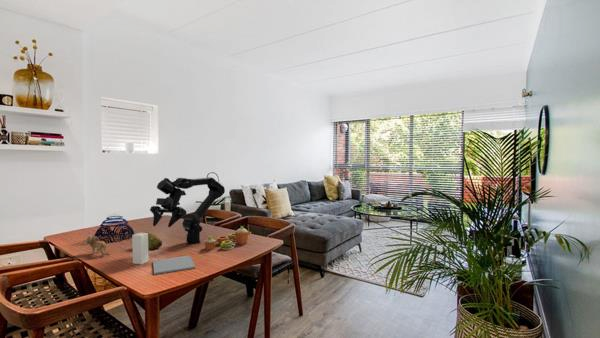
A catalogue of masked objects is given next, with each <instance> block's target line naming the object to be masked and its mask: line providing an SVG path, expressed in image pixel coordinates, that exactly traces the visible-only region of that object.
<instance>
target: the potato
mask: <svg viewBox="0 0 600 338" xmlns="http://www.w3.org/2000/svg"><path fill="white" fill-rule="evenodd" d="M142 233H148V250H149V249H150V250H153V249H159V248H161V246H162V245H163V241H162V239H161V238H160V237H158V236H157V235H155V234H153V233H151V232H150V231H144V232H142Z"/></svg>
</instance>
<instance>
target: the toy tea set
mask: <svg viewBox="0 0 600 338" xmlns="http://www.w3.org/2000/svg"><path fill="white" fill-rule="evenodd" d="M251 234H252V232H251V231H249V230H247V229H246V228H244V226H240V228H238V229H236V230H235V232H234V233H233V232H232V233H228V234H227V236H226V235H222V236H218V237H217V239H214V238H213V237H212V236H208V238H207V239H205V240H204V241H203V243H204V249H205V250H206V251H212V250H214V249H215V248H216V243H217V244H218V246H220V249H221V250H224V251H228V250H229V251H230V250H232V249H234V248H235V246H236V244H237V245H246V244H247V243H248V240H249V235H251ZM233 242H236V244H235V243H233Z"/></svg>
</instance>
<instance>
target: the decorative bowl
mask: <svg viewBox="0 0 600 338" xmlns="http://www.w3.org/2000/svg"><path fill="white" fill-rule="evenodd" d="M123 217H124V216H122V215H120V212H114V213H109V214H108V216H107V217H106V218H105V220H103V221H102V222H101V224H100V225H99V226H100V227H98V229H97V230H96V231H95V234H94V236H96V237H97V238H98V237H99V240H100V241H104V242H105V243H107V244H109V242H110V243H118V242H117V241H119V242H123V240H124V241H125V240H126V239H128V240H130V239H129V238H131V237H132V235H134V234H135V231H134V229H133V227H131V226H130V225H129V221H127V219H126V218H123ZM110 224H111V225H110ZM112 228H113V229H112ZM117 233H118V234H117ZM120 233H121V234H120ZM122 233H123V234H122ZM125 233H127V234H125ZM129 233H130V234H129ZM109 234H110V235H109ZM116 235H117V236H116ZM115 240H116V241H115ZM126 241H127V240H126Z"/></svg>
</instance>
